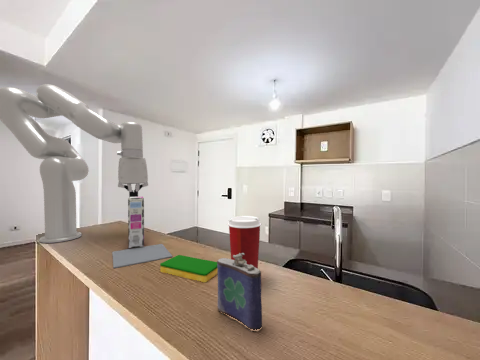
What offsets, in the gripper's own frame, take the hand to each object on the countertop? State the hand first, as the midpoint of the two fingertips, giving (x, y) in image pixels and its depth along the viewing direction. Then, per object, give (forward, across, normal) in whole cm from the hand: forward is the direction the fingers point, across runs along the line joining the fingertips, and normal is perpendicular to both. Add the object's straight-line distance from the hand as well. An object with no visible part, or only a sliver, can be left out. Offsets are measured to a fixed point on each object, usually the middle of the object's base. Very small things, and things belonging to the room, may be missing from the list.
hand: (133, 201), depth 86 cm
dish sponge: (+15, +8, -42) cm, 45 cm away
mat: (+14, 0, -23) cm, 27 cm away
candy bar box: (+14, 0, -11) cm, 18 cm away
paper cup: (+15, +18, -53) cm, 57 cm away
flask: (+15, +10, -64) cm, 66 cm away
